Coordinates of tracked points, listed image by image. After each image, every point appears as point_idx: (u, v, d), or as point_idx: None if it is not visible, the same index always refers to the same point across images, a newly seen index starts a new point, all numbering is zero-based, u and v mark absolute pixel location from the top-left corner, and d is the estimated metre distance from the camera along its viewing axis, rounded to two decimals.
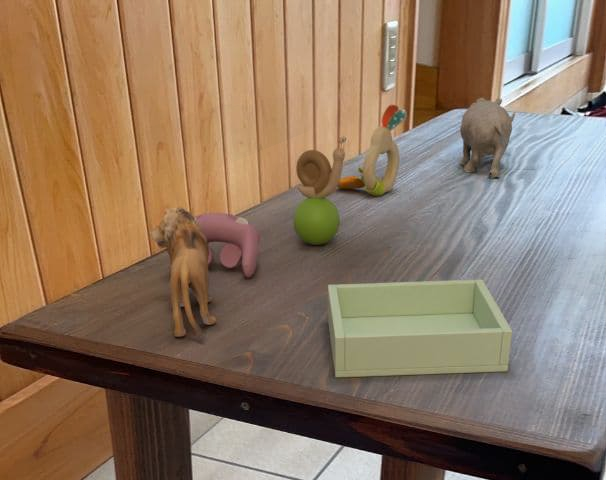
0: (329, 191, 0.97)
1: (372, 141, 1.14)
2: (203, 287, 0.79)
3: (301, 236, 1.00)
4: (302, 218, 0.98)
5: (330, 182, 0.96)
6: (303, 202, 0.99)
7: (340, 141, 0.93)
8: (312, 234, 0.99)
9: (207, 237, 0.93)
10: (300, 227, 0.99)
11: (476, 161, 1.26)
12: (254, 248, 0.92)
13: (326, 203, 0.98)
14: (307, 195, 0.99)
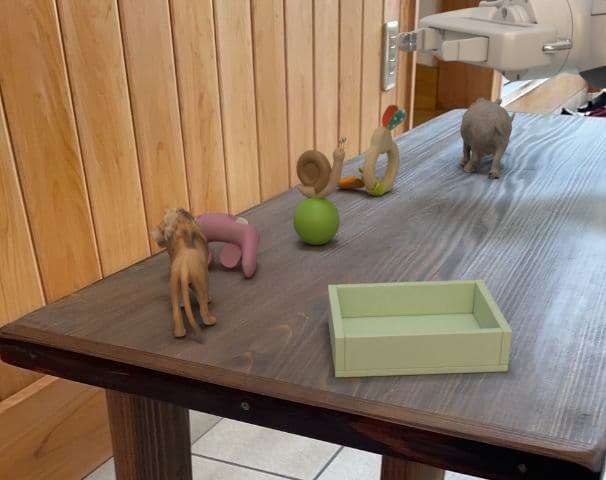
0: (329, 191, 0.97)
1: (372, 141, 1.14)
2: (203, 287, 0.79)
3: (301, 236, 1.00)
4: (302, 218, 0.98)
5: (330, 182, 0.96)
6: (303, 202, 0.99)
7: (340, 141, 0.93)
8: (312, 234, 0.99)
9: (207, 237, 0.93)
10: (300, 227, 0.99)
11: (476, 161, 1.26)
12: (254, 248, 0.92)
13: (326, 203, 0.98)
14: (307, 195, 0.99)
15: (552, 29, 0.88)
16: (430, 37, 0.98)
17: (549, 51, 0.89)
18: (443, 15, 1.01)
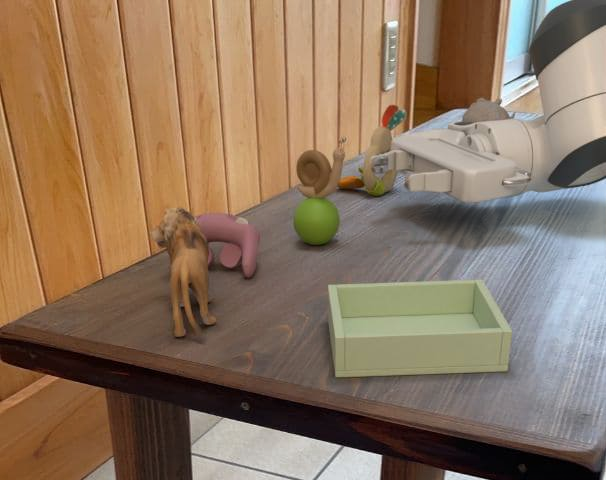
0: (329, 191, 0.97)
1: (372, 141, 1.14)
2: (203, 287, 0.79)
3: (301, 236, 1.00)
4: (302, 218, 0.98)
5: (330, 182, 0.96)
6: (303, 202, 0.99)
7: (340, 141, 0.93)
8: (312, 234, 0.99)
9: (207, 237, 0.93)
10: (300, 227, 0.99)
11: None
12: (254, 248, 0.92)
13: (326, 203, 0.98)
14: (307, 195, 0.99)
15: (511, 165, 0.95)
16: (401, 159, 1.05)
17: (508, 185, 0.95)
18: (414, 135, 1.08)
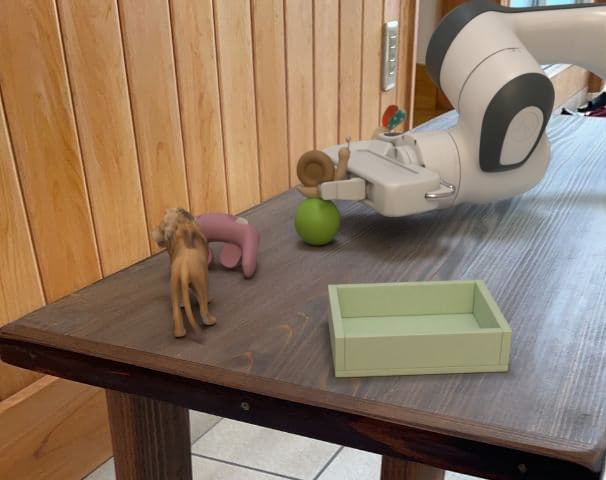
0: None
1: None
2: (203, 287, 0.79)
3: (306, 237, 0.99)
4: (308, 219, 0.98)
5: None
6: (306, 203, 0.98)
7: (348, 140, 0.94)
8: (319, 234, 0.98)
9: (207, 237, 0.93)
10: (306, 228, 0.98)
11: None
12: (254, 248, 0.92)
13: (330, 202, 0.98)
14: (309, 196, 0.98)
15: (434, 178, 0.92)
16: None
17: (431, 199, 0.93)
18: (343, 146, 1.05)
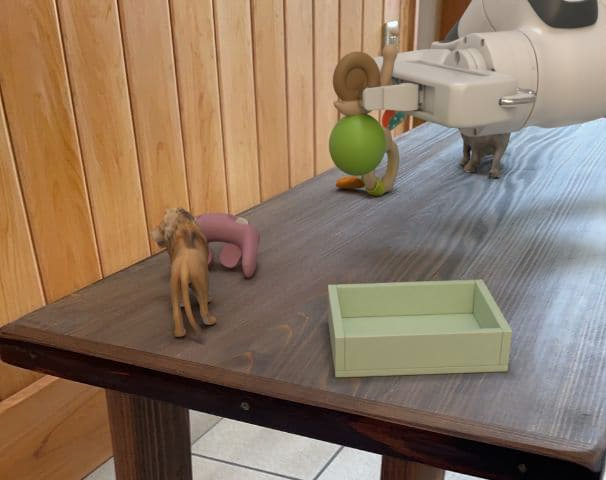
0: None
1: None
2: (203, 287, 0.79)
3: (358, 165, 0.79)
4: (363, 139, 0.78)
5: None
6: (352, 121, 0.78)
7: (398, 34, 0.76)
8: (375, 158, 0.79)
9: (207, 237, 0.93)
10: (361, 151, 0.78)
11: (476, 161, 1.26)
12: (254, 248, 0.92)
13: (374, 118, 0.80)
14: (351, 112, 0.78)
15: (511, 79, 0.73)
16: None
17: (507, 105, 0.73)
18: None
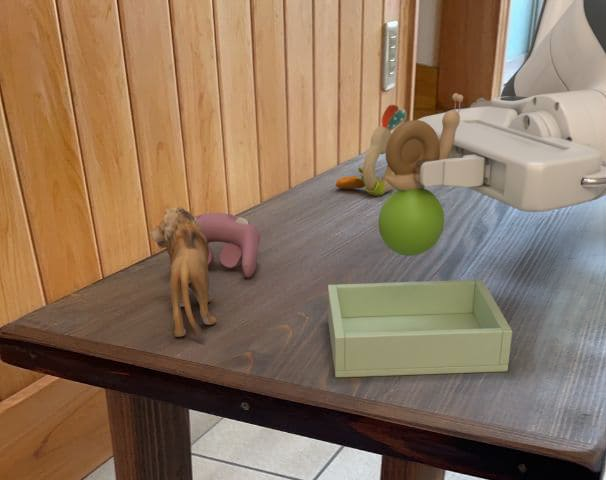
0: None
1: (372, 141, 1.14)
2: (203, 287, 0.79)
3: (413, 246, 0.70)
4: (420, 219, 0.68)
5: None
6: (407, 198, 0.68)
7: (461, 99, 0.66)
8: (432, 238, 0.70)
9: (207, 237, 0.93)
10: (417, 232, 0.69)
11: None
12: (254, 248, 0.92)
13: None
14: (406, 187, 0.68)
15: (595, 155, 0.63)
16: None
17: (590, 185, 0.63)
18: None
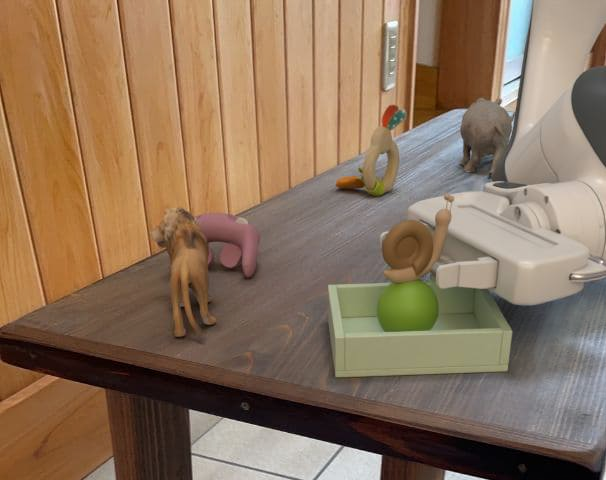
0: None
1: (372, 141, 1.14)
2: (203, 287, 0.79)
3: None
4: (416, 310, 0.72)
5: (435, 255, 0.73)
6: (403, 290, 0.73)
7: (452, 200, 0.70)
8: (428, 326, 0.74)
9: (207, 237, 0.93)
10: (413, 322, 0.73)
11: (476, 161, 1.26)
12: (254, 248, 0.92)
13: (426, 283, 0.74)
14: (402, 280, 0.73)
15: (582, 252, 0.67)
16: None
17: (578, 280, 0.67)
18: (439, 201, 0.80)
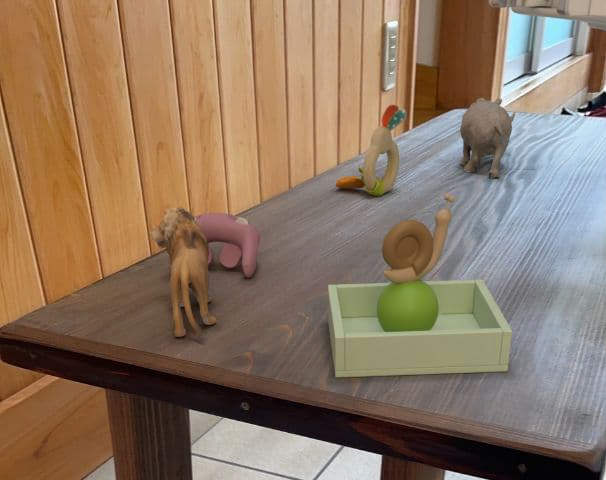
0: (432, 267, 0.73)
1: (372, 141, 1.14)
2: (203, 287, 0.79)
3: None
4: (416, 310, 0.72)
5: (435, 255, 0.73)
6: (403, 290, 0.73)
7: (452, 200, 0.70)
8: (428, 326, 0.74)
9: (207, 237, 0.93)
10: (413, 322, 0.73)
11: (476, 161, 1.26)
12: (254, 248, 0.92)
13: (426, 283, 0.74)
14: (402, 280, 0.73)
15: None
16: None
17: None
18: None
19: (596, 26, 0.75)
